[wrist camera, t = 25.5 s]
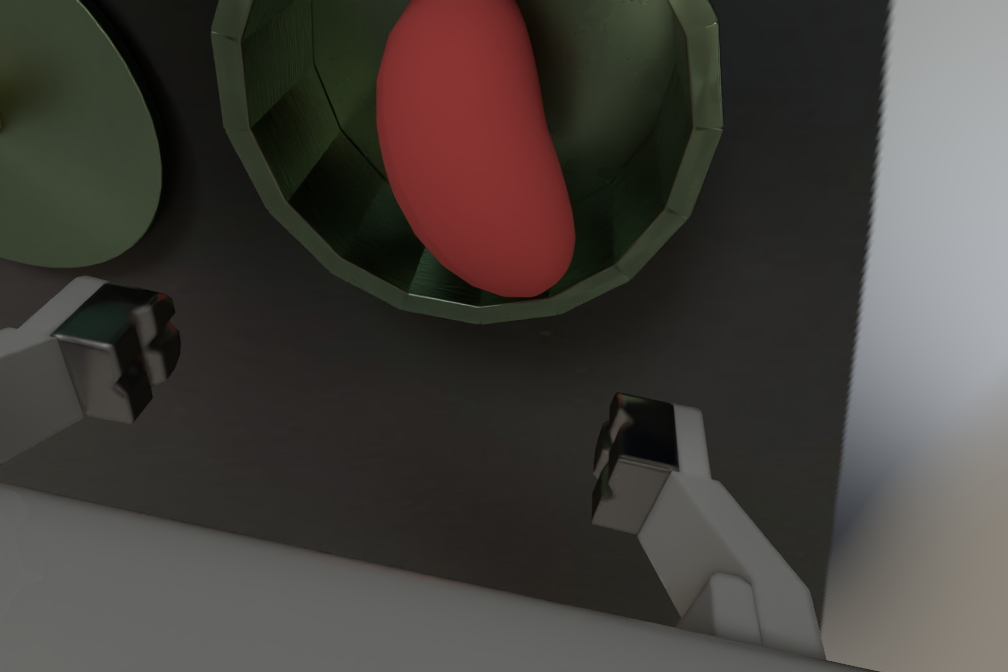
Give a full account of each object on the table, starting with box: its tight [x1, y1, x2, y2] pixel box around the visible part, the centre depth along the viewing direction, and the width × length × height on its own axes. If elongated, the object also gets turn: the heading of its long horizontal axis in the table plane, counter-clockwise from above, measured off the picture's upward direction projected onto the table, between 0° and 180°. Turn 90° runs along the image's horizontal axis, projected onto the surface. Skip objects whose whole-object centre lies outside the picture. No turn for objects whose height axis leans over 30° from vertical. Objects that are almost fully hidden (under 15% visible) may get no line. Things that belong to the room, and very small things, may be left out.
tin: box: [211, 0, 724, 325], centre depth 20 cm, size 14×14×6 cm
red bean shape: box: [376, 0, 575, 297], centre depth 20 cm, size 5×9×6 cm, turn 8°
